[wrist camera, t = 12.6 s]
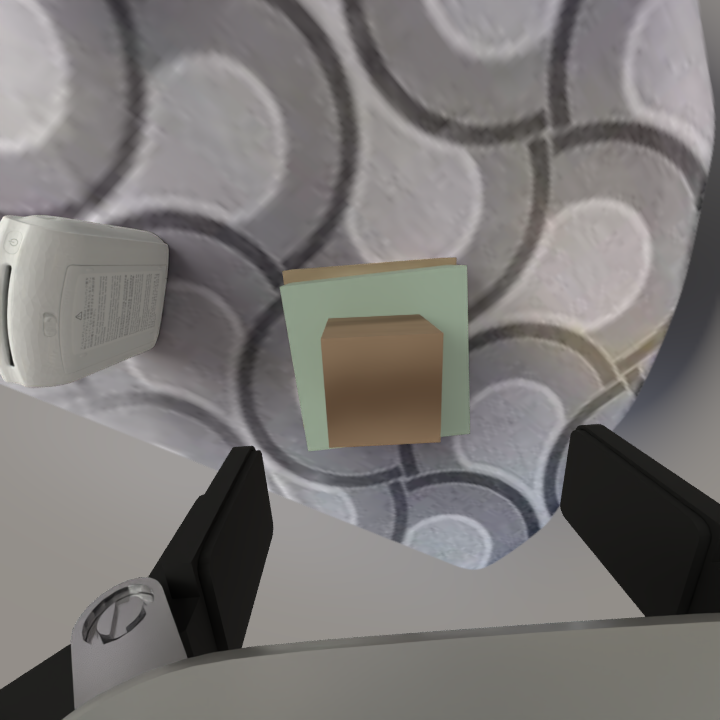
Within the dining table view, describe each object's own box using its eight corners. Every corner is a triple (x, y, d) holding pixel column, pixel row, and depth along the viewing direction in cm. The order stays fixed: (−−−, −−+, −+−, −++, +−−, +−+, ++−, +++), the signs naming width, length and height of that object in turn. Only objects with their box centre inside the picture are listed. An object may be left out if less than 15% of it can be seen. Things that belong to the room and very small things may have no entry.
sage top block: (290, 282, 25) (279, 286, 22) (449, 264, 25) (466, 265, 21) (314, 425, 29) (308, 451, 25) (454, 410, 29) (469, 433, 25)
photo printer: (123, 222, 28) (-49, 195, 16) (176, 238, 28) (47, 222, 16) (112, 339, 30) (-40, 391, 19) (161, 352, 31) (42, 410, 19)
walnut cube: (328, 318, 22) (320, 338, 16) (419, 314, 22) (443, 333, 16) (334, 402, 24) (329, 447, 18) (418, 398, 24) (440, 442, 18)
